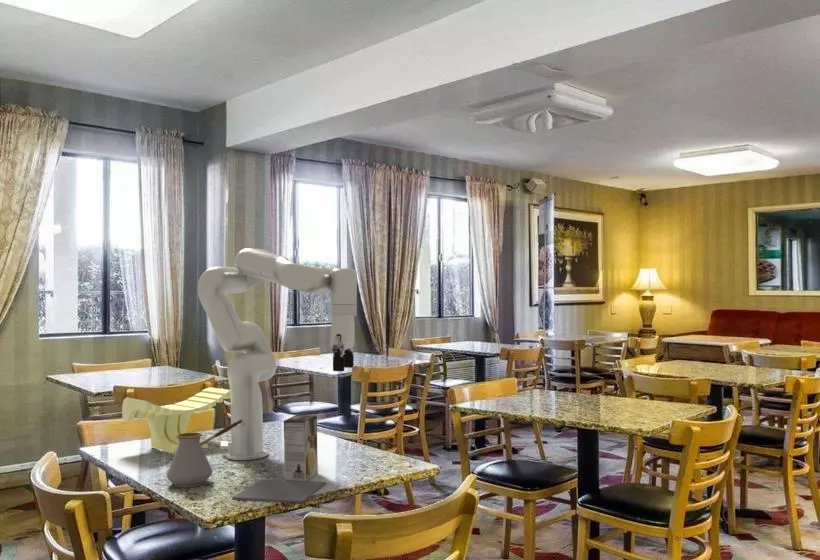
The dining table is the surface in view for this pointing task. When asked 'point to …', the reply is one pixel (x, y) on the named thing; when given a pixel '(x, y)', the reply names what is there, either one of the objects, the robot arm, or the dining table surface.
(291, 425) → the coffee box
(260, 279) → the robot arm
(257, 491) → the mat
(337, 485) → the dining table surface
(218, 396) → the slatted curved stool
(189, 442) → the coffee pot
